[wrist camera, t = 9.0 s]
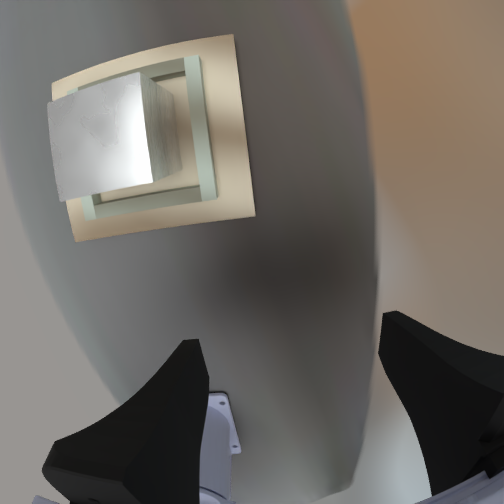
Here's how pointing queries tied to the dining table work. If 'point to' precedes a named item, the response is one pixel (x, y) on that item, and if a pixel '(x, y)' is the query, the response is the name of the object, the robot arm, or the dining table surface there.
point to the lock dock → (190, 142)
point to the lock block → (113, 136)
